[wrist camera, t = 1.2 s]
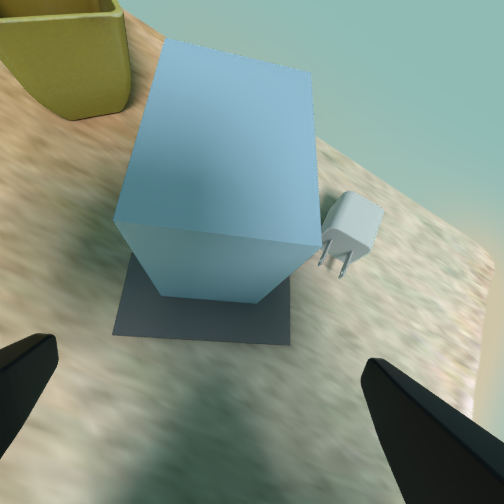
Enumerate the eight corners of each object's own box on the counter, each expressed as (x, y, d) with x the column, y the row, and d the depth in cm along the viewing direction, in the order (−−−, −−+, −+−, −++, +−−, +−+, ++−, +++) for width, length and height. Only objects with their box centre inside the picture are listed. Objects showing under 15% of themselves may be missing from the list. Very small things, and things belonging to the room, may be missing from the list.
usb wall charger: (361, 231, 26) (388, 211, 22) (339, 288, 23) (365, 276, 19) (326, 211, 26) (347, 188, 22) (300, 266, 23) (320, 250, 19)
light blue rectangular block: (256, 303, 21) (322, 246, 10) (161, 295, 19) (112, 220, 8) (260, 199, 24) (310, 72, 13) (181, 187, 23) (165, 37, 12)
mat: (288, 345, 20) (290, 345, 20) (113, 335, 18) (112, 335, 18) (287, 180, 26) (288, 178, 26) (156, 158, 24) (155, 155, 24)
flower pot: (27, 74, 25) (-56, -62, 17) (120, 63, 28) (87, -58, 20) (51, 141, 23) (-32, 22, 15) (148, 122, 26) (125, 13, 17)
